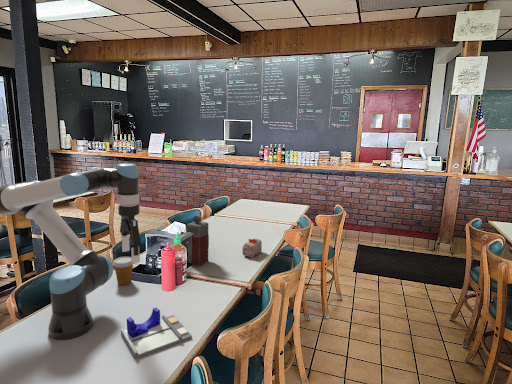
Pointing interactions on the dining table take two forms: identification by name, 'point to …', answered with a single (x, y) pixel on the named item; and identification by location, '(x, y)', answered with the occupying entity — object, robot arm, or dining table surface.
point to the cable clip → (143, 324)
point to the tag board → (157, 337)
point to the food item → (252, 248)
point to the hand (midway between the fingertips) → (130, 256)
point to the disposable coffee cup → (123, 270)
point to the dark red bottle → (199, 240)
